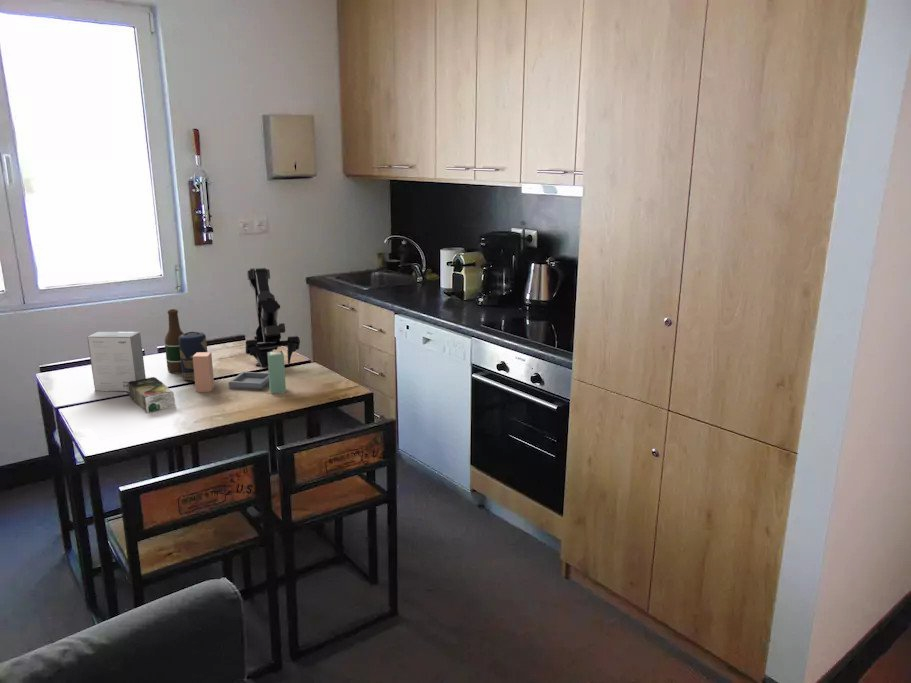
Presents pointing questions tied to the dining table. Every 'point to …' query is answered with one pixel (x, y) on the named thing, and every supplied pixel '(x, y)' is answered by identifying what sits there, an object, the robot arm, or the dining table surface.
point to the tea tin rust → (203, 371)
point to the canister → (190, 351)
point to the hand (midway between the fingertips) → (275, 365)
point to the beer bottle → (173, 343)
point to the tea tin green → (276, 372)
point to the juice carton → (151, 394)
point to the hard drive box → (116, 360)
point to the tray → (250, 381)
